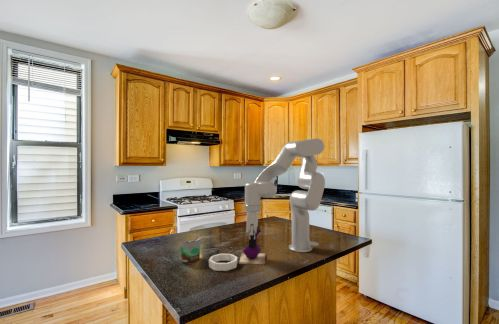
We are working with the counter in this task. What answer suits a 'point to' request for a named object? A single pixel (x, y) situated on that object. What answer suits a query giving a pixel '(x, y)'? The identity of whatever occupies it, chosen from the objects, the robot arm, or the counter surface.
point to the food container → (190, 250)
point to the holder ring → (223, 266)
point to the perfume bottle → (253, 251)
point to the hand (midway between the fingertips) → (252, 245)
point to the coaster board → (258, 260)
